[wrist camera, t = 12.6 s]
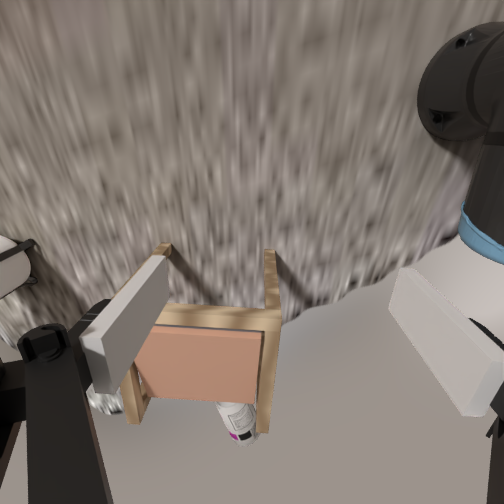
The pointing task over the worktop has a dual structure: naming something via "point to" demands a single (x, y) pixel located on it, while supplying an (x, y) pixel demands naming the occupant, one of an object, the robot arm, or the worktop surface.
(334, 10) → the worktop surface
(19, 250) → the coffee press
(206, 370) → the trapdoor
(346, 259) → the worktop surface
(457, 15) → the worktop surface
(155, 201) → the worktop surface
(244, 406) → the supplement can
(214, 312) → the trapdoor frame
